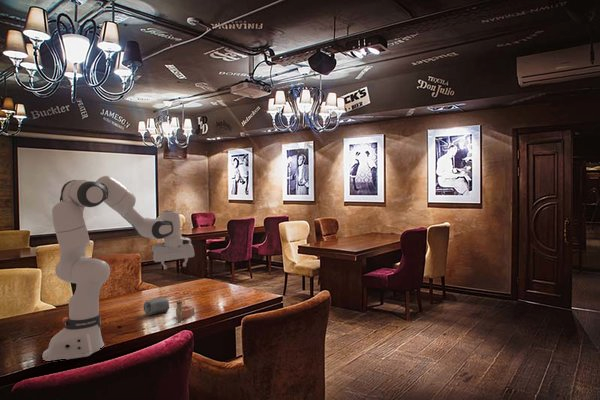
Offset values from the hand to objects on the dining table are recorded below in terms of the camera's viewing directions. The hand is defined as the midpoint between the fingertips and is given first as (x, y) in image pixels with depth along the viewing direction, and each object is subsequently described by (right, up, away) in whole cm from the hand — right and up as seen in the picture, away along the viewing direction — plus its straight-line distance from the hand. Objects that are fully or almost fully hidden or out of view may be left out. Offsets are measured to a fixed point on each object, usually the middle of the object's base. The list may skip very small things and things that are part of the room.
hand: (175, 267), depth 204 cm
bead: (+3, -27, +7) cm, 28 cm away
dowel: (+3, -27, -3) cm, 27 cm away
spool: (-14, -27, +12) cm, 33 cm away
